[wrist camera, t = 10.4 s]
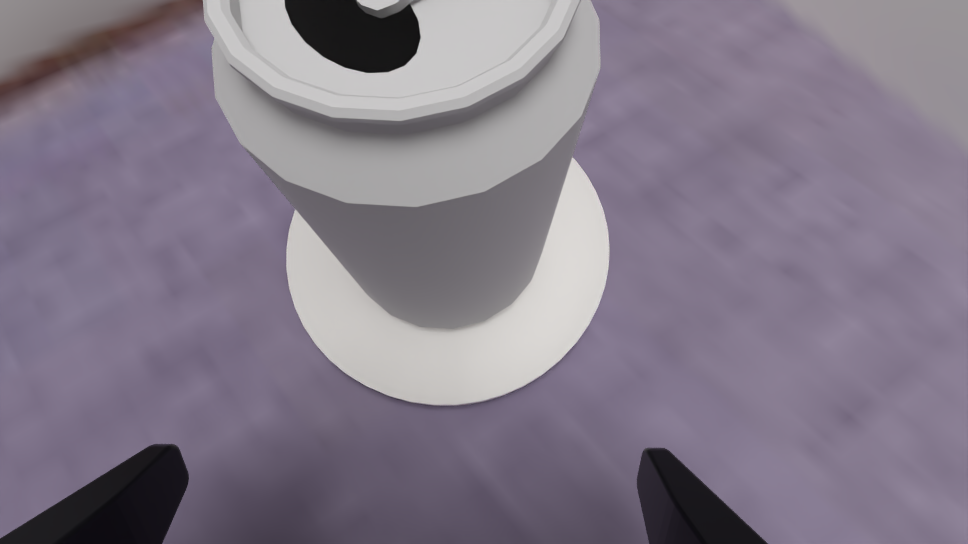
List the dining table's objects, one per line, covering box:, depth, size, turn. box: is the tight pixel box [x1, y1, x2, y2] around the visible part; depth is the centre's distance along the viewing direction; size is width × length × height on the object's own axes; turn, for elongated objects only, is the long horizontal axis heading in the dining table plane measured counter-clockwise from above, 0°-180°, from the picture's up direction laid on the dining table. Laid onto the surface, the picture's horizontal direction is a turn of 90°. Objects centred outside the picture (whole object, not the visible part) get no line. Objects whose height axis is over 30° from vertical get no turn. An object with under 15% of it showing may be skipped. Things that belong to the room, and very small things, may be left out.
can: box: [203, 0, 600, 329], centre depth 13 cm, size 8×8×12 cm
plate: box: [286, 157, 609, 406], centre depth 19 cm, size 13×13×1 cm
